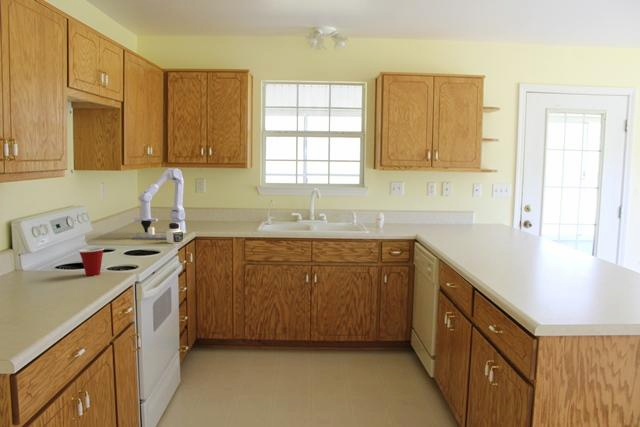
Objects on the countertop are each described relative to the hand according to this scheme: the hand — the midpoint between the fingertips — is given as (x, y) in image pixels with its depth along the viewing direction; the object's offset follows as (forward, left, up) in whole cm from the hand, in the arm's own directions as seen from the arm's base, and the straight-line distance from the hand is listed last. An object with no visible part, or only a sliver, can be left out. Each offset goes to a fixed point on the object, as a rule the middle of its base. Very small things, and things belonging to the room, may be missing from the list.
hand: (146, 232), depth 329 cm
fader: (0, +3, -2) cm, 4 cm away
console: (0, +5, -3) cm, 6 cm away
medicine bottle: (+14, +24, -4) cm, 28 cm away
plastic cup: (+97, +18, -4) cm, 99 cm away
